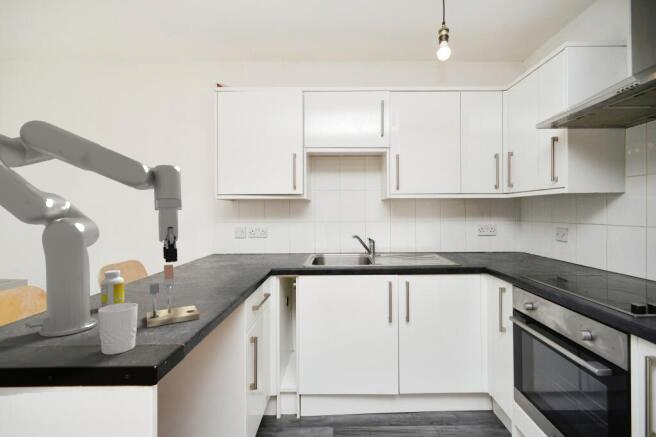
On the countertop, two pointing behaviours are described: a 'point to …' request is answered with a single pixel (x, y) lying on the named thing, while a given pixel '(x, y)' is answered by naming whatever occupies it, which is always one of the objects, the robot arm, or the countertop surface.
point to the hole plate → (172, 316)
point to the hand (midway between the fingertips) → (170, 260)
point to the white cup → (118, 327)
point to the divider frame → (156, 287)
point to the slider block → (168, 282)
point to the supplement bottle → (112, 288)
